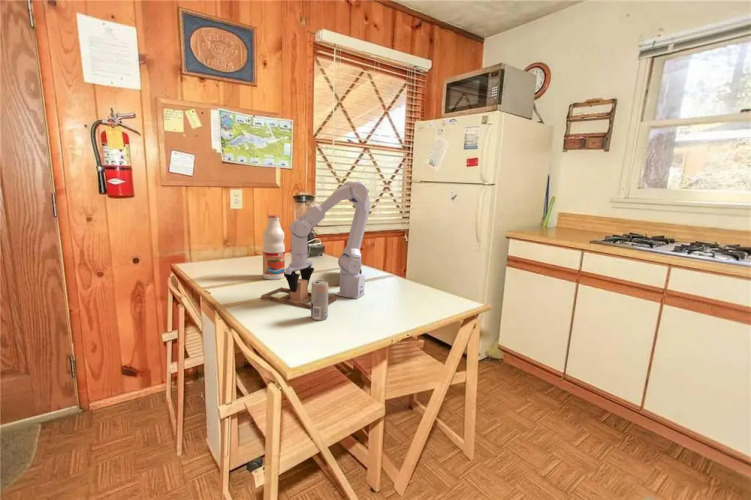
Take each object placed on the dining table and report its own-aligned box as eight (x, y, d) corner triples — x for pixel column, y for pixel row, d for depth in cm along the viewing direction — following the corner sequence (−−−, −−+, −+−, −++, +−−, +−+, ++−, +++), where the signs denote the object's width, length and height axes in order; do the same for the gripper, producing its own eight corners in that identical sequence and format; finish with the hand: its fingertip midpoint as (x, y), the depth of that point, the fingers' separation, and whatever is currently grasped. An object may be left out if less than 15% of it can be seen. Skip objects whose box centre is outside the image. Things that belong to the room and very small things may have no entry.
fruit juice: (277, 273, 170) (277, 213, 165) (288, 277, 164) (289, 215, 159) (258, 276, 163) (258, 214, 158) (270, 281, 157) (269, 216, 152)
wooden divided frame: (336, 300, 136) (336, 297, 136) (319, 310, 125) (319, 306, 125) (281, 290, 145) (281, 287, 145) (261, 298, 134) (261, 295, 134)
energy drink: (319, 313, 122) (320, 279, 120) (331, 317, 119) (332, 282, 117) (307, 317, 118) (308, 282, 116) (318, 322, 115) (319, 285, 113)
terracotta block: (307, 298, 137) (307, 280, 135) (300, 301, 132) (300, 283, 131) (297, 296, 138) (297, 278, 137) (290, 299, 134) (290, 281, 133)
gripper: (301, 248, 140) (301, 282, 143) (277, 255, 127) (278, 292, 129) (317, 250, 138) (316, 285, 140) (294, 257, 124) (294, 295, 127)
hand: (299, 288), depth 135 cm, fingers open, 7 cm apart
